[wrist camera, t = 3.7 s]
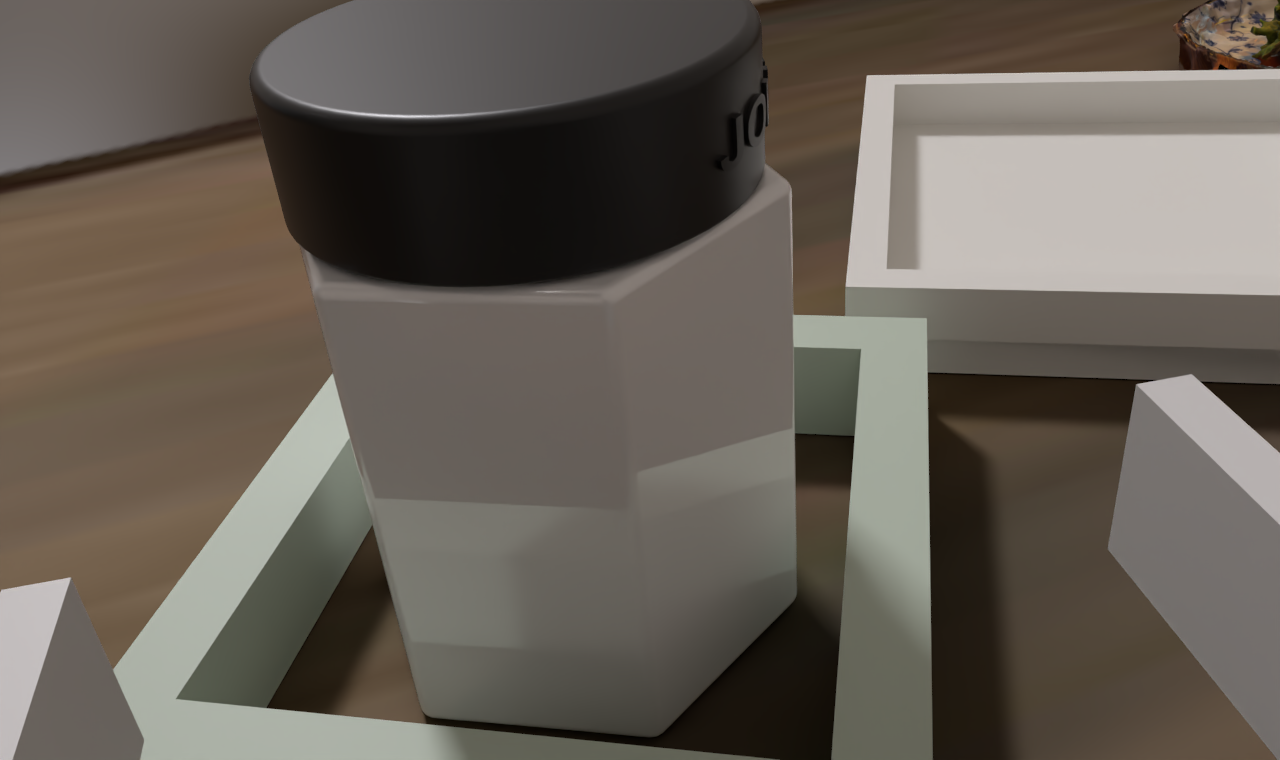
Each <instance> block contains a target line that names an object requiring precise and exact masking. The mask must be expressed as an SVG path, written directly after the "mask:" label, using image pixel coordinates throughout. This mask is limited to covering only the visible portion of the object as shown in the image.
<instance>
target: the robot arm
mask: <svg viewBox="0 0 1280 760" xmlns="http://www.w3.org/2000/svg"><path fill="white" fill-rule="evenodd" d="M1108 550H1109V551H1110V552H1111V554H1112V555H1113V556H1114V557H1115V559H1116V560H1117V561H1118V562H1119V564H1120V565H1121V566H1122V567H1123V569H1124V570H1125V571H1126V572H1127V573H1128V575H1129V576H1130V577H1131V578H1132V580H1133V581H1134V582H1135V583H1136V585H1137V586H1138V587H1139V588H1140V590H1141V591H1142V592H1143V593H1144V595H1145V596H1146V597H1147V598H1148V600H1149V601H1150V602H1151V603H1152V604H1153V606H1154V607H1155V608H1156V609H1157V611H1158V612H1159V613H1160V614H1161V616H1162V617H1163V618H1164V619H1165V621H1166V622H1167V623H1168V624H1169V626H1170V627H1171V628H1172V629H1173V631H1174V632H1175V633H1176V634H1177V635H1178V637H1179V638H1180V639H1181V640H1182V642H1183V643H1184V644H1185V645H1186V647H1187V648H1188V649H1189V650H1190V652H1191V653H1192V654H1193V655H1194V657H1195V658H1196V659H1197V660H1198V662H1199V663H1200V664H1201V665H1202V666H1203V668H1204V669H1205V670H1206V671H1207V673H1208V674H1209V675H1210V676H1211V678H1212V679H1213V680H1214V681H1215V683H1216V684H1217V685H1218V686H1219V688H1220V689H1221V690H1222V691H1223V693H1224V694H1225V695H1226V696H1227V697H1228V699H1229V700H1230V701H1231V702H1232V704H1233V705H1234V706H1235V707H1236V709H1237V710H1238V711H1239V712H1240V714H1241V715H1242V716H1243V717H1244V719H1245V720H1246V721H1247V722H1248V724H1249V725H1250V726H1251V727H1252V728H1253V730H1254V731H1255V732H1256V733H1257V735H1258V736H1259V737H1260V738H1261V740H1262V741H1263V742H1264V743H1265V745H1266V746H1267V747H1268V748H1269V750H1270V751H1271V752H1272V753H1273V755H1274V756H1275V757H1276V758H1277V759H1278V760H1280V453H1279V452H1278V451H1277V450H1276V449H1274V448H1273V447H1272V446H1271V445H1270V444H1269V443H1268V442H1267V441H1266V440H1264V439H1263V438H1262V437H1261V436H1260V435H1259V434H1258V433H1257V432H1256V431H1254V430H1253V429H1252V428H1251V427H1250V426H1249V425H1248V424H1247V423H1245V422H1244V421H1243V420H1242V419H1241V418H1240V417H1239V416H1238V415H1237V414H1235V413H1234V412H1233V411H1232V410H1231V409H1230V408H1229V407H1228V406H1227V405H1225V404H1224V403H1223V402H1222V401H1221V400H1220V399H1219V398H1218V397H1217V396H1215V395H1214V394H1213V393H1212V392H1211V391H1210V390H1209V389H1208V388H1207V387H1205V386H1204V385H1203V384H1202V383H1201V382H1200V381H1199V380H1198V379H1197V378H1195V377H1194V376H1193V375H1192V374H1190V375H1184V376H1179V377H1173V378H1168V379H1162V380H1157V381H1151V382H1146V383H1140V384H1136V388H1135V393H1134V399H1133V405H1132V411H1131V417H1130V423H1129V428H1128V434H1127V440H1126V446H1125V452H1124V458H1123V463H1122V469H1121V475H1120V481H1119V487H1118V493H1117V498H1116V504H1115V510H1114V516H1113V522H1112V527H1111V533H1110V539H1109V545H1108ZM143 744H144V738H143V736H142V733H141V731H140V729H139V727H138V725H137V722H136V720H135V718H134V716H133V714H132V711H131V709H130V707H129V705H128V702H127V700H126V698H125V696H124V694H123V691H122V689H121V687H120V685H119V683H118V680H117V678H116V676H115V674H114V672H113V669H112V667H111V665H110V663H109V660H108V658H107V656H106V654H105V652H104V649H103V647H102V645H101V643H100V641H99V638H98V636H97V634H96V632H95V629H94V627H93V625H92V623H91V621H90V618H89V616H88V614H87V612H86V610H85V607H84V605H83V603H82V601H81V599H80V596H79V594H78V592H77V590H76V587H75V585H74V583H73V581H72V579H71V578H65V579H60V580H54V581H49V582H43V583H38V584H32V585H27V586H21V587H16V588H10V589H5V590H1V593H0V760H140V758H141V753H142V748H143Z"/></svg>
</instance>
